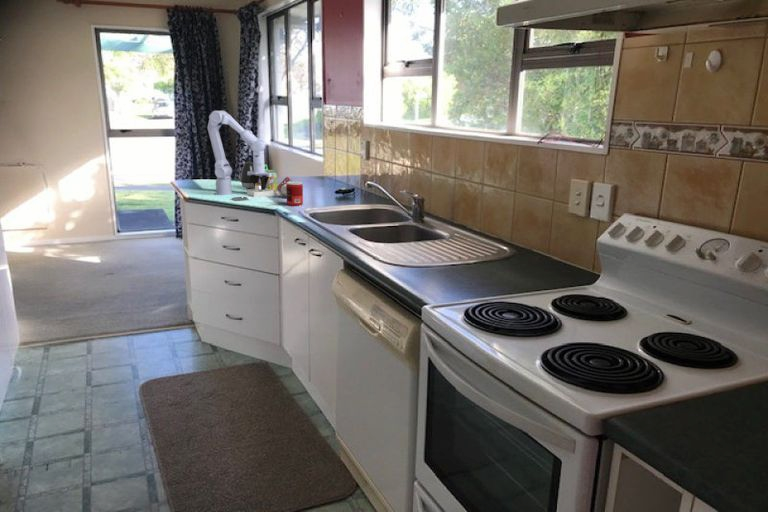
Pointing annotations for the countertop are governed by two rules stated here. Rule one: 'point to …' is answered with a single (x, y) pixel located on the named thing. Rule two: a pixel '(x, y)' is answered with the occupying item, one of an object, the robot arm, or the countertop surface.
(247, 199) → the socket seat
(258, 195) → the parts tray
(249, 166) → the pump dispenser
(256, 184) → the silver cylinder copper tab
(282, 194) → the brake caliper
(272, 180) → the chalk box
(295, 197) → the canned food
